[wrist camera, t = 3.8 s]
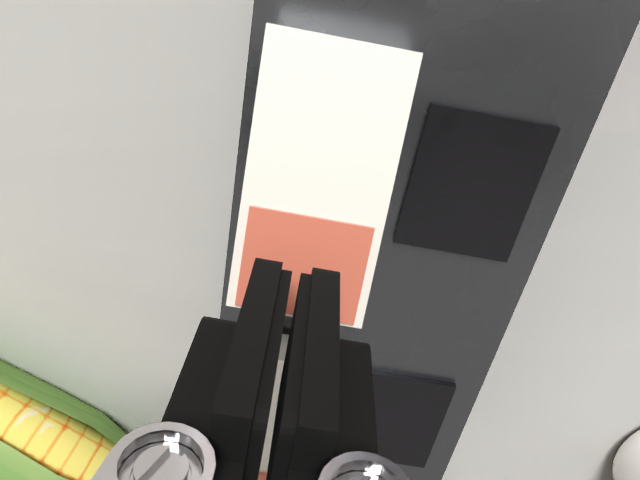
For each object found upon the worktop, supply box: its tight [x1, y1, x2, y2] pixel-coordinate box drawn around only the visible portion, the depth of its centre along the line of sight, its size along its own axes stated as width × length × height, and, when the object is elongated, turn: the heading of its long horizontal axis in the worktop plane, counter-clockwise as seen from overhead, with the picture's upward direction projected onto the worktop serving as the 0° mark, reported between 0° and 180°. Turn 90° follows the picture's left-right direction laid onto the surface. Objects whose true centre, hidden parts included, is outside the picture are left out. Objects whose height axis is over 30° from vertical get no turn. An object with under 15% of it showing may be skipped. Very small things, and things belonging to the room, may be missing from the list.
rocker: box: [226, 23, 423, 329], centre depth 11 cm, size 3×6×2 cm, turn 170°
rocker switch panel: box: [220, 0, 640, 480], centre depth 14 cm, size 8×24×4 cm, turn 170°
